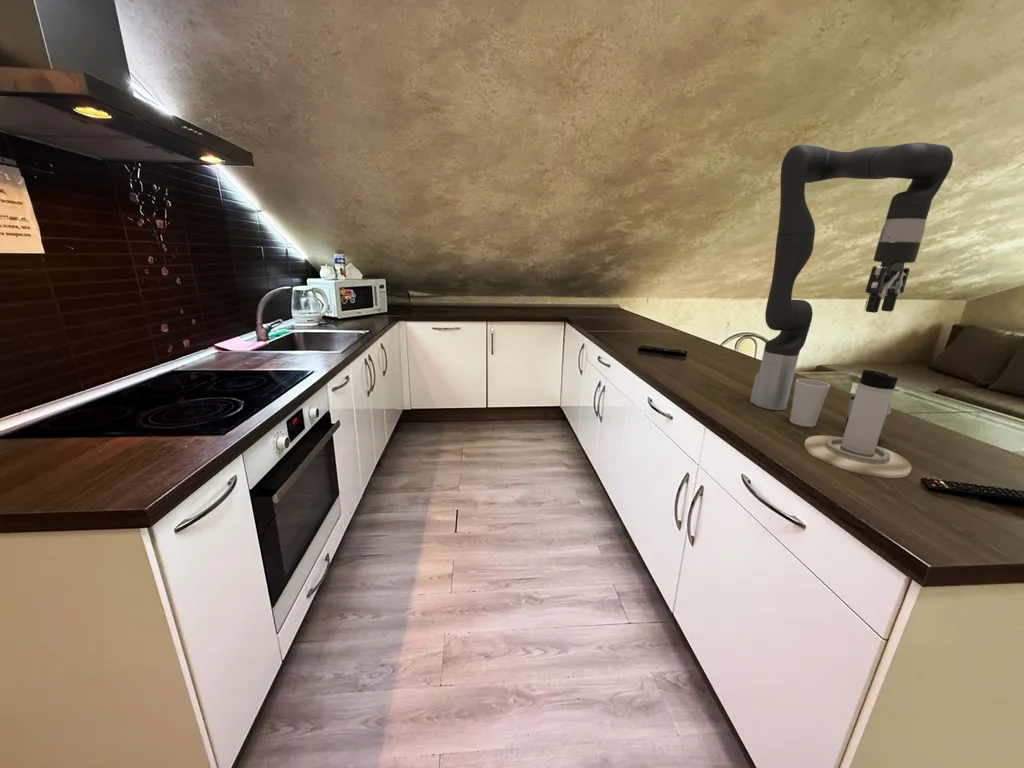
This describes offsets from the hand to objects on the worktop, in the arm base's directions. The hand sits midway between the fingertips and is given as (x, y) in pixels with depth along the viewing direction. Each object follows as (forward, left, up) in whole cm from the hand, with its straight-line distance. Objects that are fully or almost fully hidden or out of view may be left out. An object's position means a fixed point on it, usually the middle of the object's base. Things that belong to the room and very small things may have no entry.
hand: (879, 311), depth 104 cm
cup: (-11, +2, -33) cm, 35 cm away
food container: (+2, +8, -33) cm, 34 cm away
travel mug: (+7, -11, -32) cm, 35 cm away
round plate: (+7, -11, -33) cm, 36 cm away
